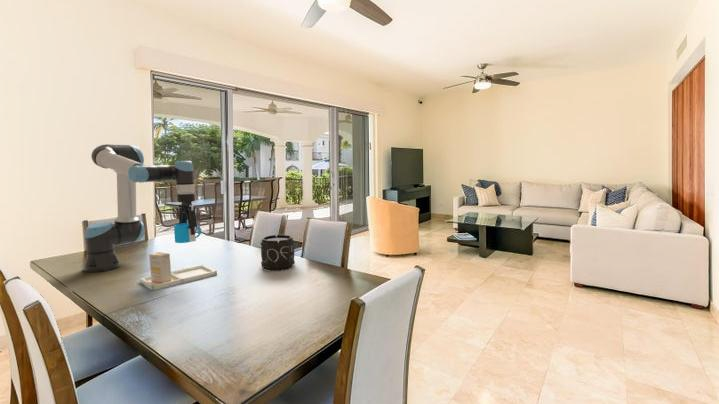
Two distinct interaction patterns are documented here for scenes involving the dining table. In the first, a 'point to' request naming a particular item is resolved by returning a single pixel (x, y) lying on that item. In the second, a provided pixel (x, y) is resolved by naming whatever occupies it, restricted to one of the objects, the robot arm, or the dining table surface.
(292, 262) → the black cylindrical pot
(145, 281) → the organiser tray
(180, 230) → the mug
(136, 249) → the dining table surface
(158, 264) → the supplement box
